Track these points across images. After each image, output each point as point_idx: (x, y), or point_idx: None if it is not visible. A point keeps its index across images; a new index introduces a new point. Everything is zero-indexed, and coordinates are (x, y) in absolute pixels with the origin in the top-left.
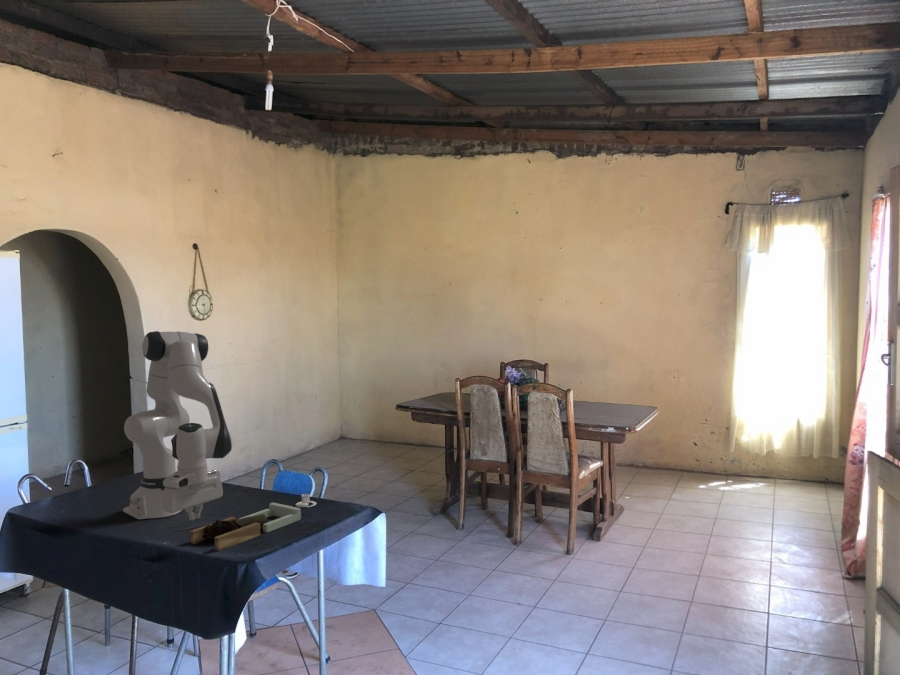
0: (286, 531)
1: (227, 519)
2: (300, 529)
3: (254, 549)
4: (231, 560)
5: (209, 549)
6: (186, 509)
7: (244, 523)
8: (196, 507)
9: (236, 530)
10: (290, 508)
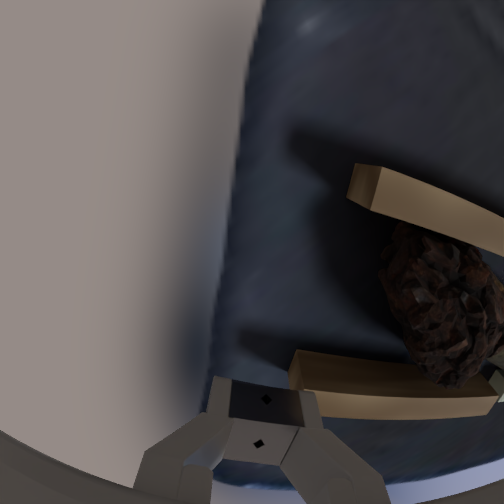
0: (483, 420)
1: None
2: (489, 434)
3: None
4: None
5: (295, 323)
6: (142, 473)
7: (500, 364)
8: (341, 466)
9: (413, 407)
10: None
